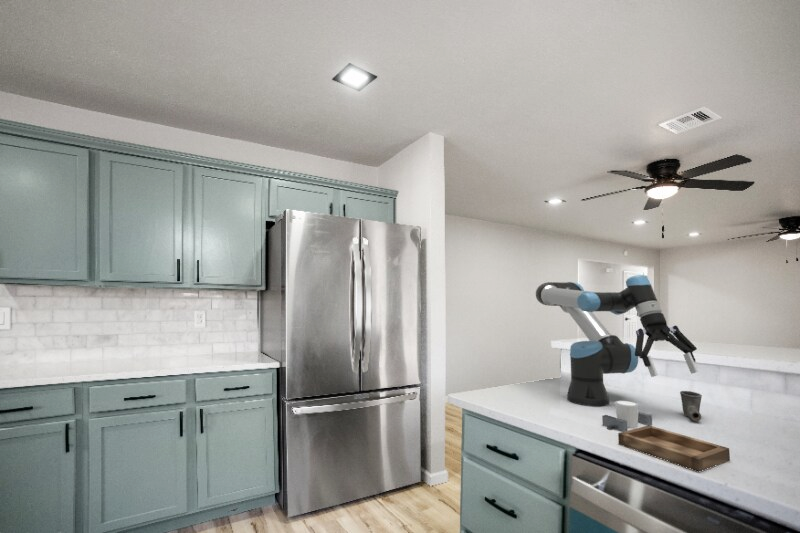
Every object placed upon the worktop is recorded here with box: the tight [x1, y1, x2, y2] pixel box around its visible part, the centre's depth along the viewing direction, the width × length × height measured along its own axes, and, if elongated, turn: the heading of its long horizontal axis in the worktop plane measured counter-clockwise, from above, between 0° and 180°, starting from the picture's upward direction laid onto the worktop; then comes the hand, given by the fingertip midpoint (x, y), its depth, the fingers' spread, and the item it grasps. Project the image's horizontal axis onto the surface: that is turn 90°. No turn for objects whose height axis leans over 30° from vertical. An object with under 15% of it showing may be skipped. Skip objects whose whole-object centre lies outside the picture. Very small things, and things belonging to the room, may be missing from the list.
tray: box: [617, 425, 731, 472], centre depth 104 cm, size 20×15×3 cm
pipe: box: [679, 390, 702, 422], centre depth 133 cm, size 6×13×8 cm, turn 152°
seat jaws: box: [601, 411, 653, 432], centre depth 126 cm, size 7×19×3 cm, turn 117°
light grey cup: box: [614, 400, 640, 429], centre depth 126 cm, size 7×7×7 cm
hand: (674, 374), depth 131 cm, fingers open, 13 cm apart
